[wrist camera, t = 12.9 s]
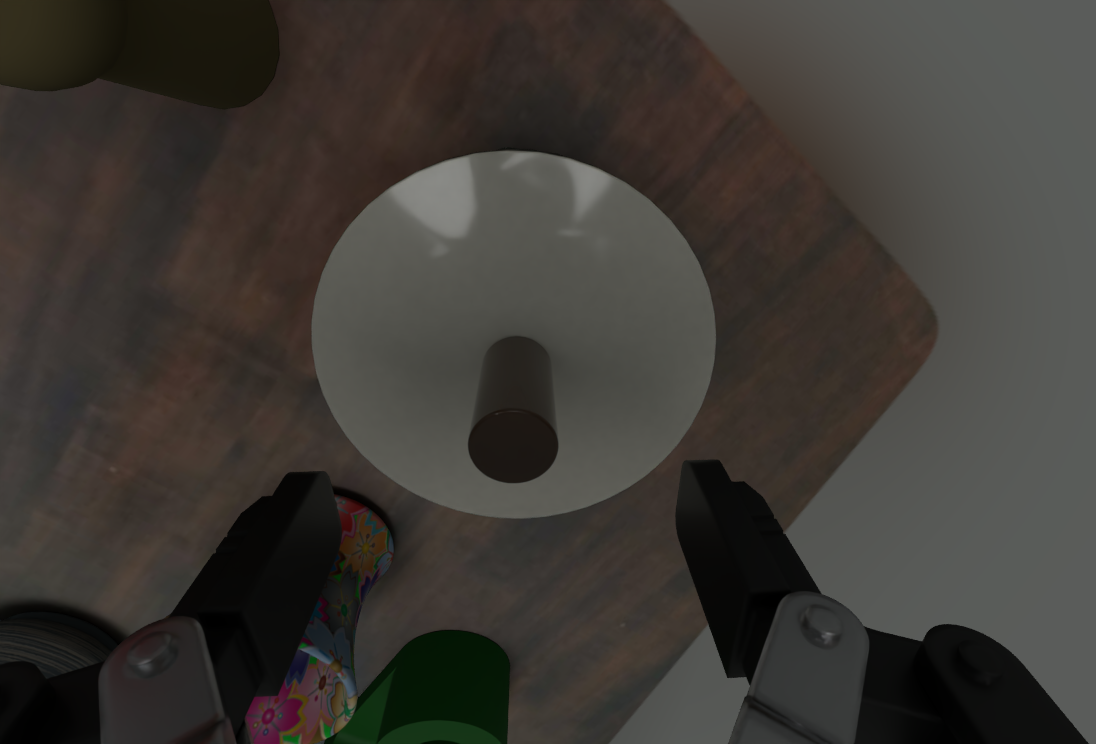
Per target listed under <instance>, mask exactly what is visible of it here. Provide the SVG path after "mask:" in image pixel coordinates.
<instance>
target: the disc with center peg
mask: <svg viewBox="0 0 1096 744" xmlns="http://www.w3.org/2000/svg"><path fill="white" fill-rule="evenodd" d="M311 325H312V351H313V357H314V363H315V369H316V373H317V377H318V380H319V383H320V386H321V389H322V392H323V395H324V397H325V399H326V402H327V404H328V406H329V408H330V410H331V412H332V414H333V416H334V418H335V419H336V421H337V422H338V424H339V426H340V427H341V429H342V430H343V432H344V433H345V435H346V436H347V437H348V439H349V440H350V441H351V442H352V443H353V445H354V446H355V447H356V448H357V449H358V451H359V452H360V453H361V454H362V455H363V456H364V457H365V458H366V459H367V460H368V461H370V462H371V463H372V464H373V465H374V466H375V467H376V468H377V469H378V470H379V471H381V472H382V473H383V474H385V475H386V476H388V477H389V478H390V479H392V480H393V481H394V482H396V483H397V484H399V485H401V486H402V487H404V488H406V489H407V490H409V491H411V492H413V493H414V494H416V495H418V496H421V497H423V498H425V499H427V500H429V501H432V502H434V503H436V504H439V505H442V506H445V507H448V508H451V509H454V510H457V511H462V512H466V513H471V514H475V515H480V516H488V517H497V518H535V517H546V516H552V515H557V514H563V513H568V512H571V511H575V510H578V509H581V508H585V507H588V506H591V505H593V504H596V503H598V502H601V501H603V500H605V499H608V498H610V497H612V496H614V495H616V494H617V493H619V492H621V491H623V490H625V489H627V488H628V487H630V486H631V485H633V484H634V483H636V482H637V481H639V480H640V479H642V478H643V477H644V476H646V475H647V474H648V473H649V472H651V471H652V470H653V469H654V468H655V467H656V466H657V465H659V464H660V463H661V462H662V461H663V460H664V459H665V458H666V457H667V456H668V455H669V453H670V452H671V451H672V450H673V449H674V448H675V447H676V446H677V445H678V443H679V442H680V441H681V439H682V438H683V436H684V435H685V433H686V432H687V431H688V429H689V428H690V426H691V425H692V423H693V421H694V419H695V417H696V415H697V413H698V411H699V409H700V408H701V405H702V403H703V400H704V397H705V395H706V392H707V389H708V387H709V383H710V379H711V374H712V370H713V365H714V360H715V347H716V327H715V313H714V309H713V304H712V299H711V295H710V290H709V287H708V284H707V282H706V279H705V276H704V274H703V271H702V268H701V266H700V264H699V262H698V260H697V258H696V256H695V255H694V253H693V251H692V249H691V247H690V246H689V244H688V242H687V241H686V239H685V238H684V237H683V235H682V234H681V233H680V231H679V230H678V229H677V228H676V226H675V225H674V224H673V222H672V221H671V220H670V219H669V218H668V217H667V216H666V215H665V214H664V213H663V212H662V211H661V210H660V209H659V208H658V207H657V206H656V205H655V204H654V203H653V202H652V201H651V200H650V199H648V198H647V197H645V196H644V195H643V194H641V193H640V192H639V191H637V190H636V189H634V188H633V187H632V186H630V185H629V184H627V183H626V182H625V181H623V180H621V179H619V178H618V177H616V176H614V175H612V174H610V173H608V172H606V171H604V170H602V169H600V168H598V167H596V166H593V165H591V164H588V163H585V162H582V161H579V160H576V159H574V158H571V157H567V156H562V155H557V154H552V153H547V152H542V151H533V150H515V149H504V150H492V151H481V152H474V153H470V154H466V155H462V156H457V157H453V158H449V159H446V160H443V161H441V162H438V163H436V164H433V165H431V166H428V167H426V168H423V169H421V170H419V171H417V172H415V173H413V174H412V175H410V176H408V177H406V178H405V179H403V180H401V181H399V182H398V183H396V184H394V185H393V186H391V187H390V188H388V189H387V190H386V191H385V192H383V193H382V194H381V195H380V196H378V197H377V198H376V199H374V200H373V201H372V202H371V203H369V204H368V205H367V206H366V207H365V208H364V210H363V211H362V212H361V213H360V214H359V215H358V216H357V217H356V218H355V219H354V220H353V221H352V223H351V224H350V225H349V226H348V227H347V229H346V230H345V232H344V233H343V235H342V236H341V238H340V239H339V241H338V242H337V244H336V245H335V247H334V248H333V250H332V252H331V254H330V257H329V259H328V261H327V263H326V265H325V267H324V269H323V272H322V274H321V278H320V281H319V285H318V288H317V292H316V295H315V299H314V307H313V315H312V323H311Z"/></svg>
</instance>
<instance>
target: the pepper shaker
mask: <svg viewBox="0 0 1096 744" xmlns="http://www.w3.org/2000/svg"><path fill="white" fill-rule="evenodd" d="M278 58H279V43H278V28H277V25H276V22H275V19H274V16H273V13H272V10H271V7H270V4H269V1H268V0H0V84H1V85H5V86H11V87H17V88H22V89H28V90H34V91H56V90H62V89H68V88H74V87H79V86H82V85H85V84H88V83H90V82H93V81H94V80H96V79H97V78H100V79H103V80H107V81H111V82H115V83H119V84H122V85H126V86H130V87H134V88H138V89H141V90H145V91H149V92H153V93H157V94H160V95H164V96H168V97H172V98H176V99H179V100H183V101H187V102H191V103H195V104H198V105H203V106H208V107H214V108H219V109H228V108H234V107H240V106H245V105H246V104H248V103H250V102H251V101H253V100H254V99H256V98H258V97H259V96H261V95H262V94H263V92H264V91H265V89H266V88H267V86H268V85H269V83H270V82H271V81H272V79H273V78H274V74H275V70H276V66H277V62H278Z"/></svg>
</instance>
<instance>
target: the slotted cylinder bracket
mask: <svg viewBox="0 0 1096 744" xmlns="http://www.w3.org/2000/svg"><path fill="white" fill-rule="evenodd" d="M509 677H510V663H509V660H508V657H507V655H506V654H505V652H504V651H503V650H502V649H501V648H500V647H499V646H498V645H497V644H496V643H494V642H493V641H491V640H489V639H487V638H485V637H483V636H480V635H477V634H474V633H470V632H464V631H438V632H432V633H428V634H425V635H422V636H420V637H417V638H416V639H414V640H412V641H411V642H409V643H408V644H407V645H405V646H404V647H403V648H402V650H401V651H400V652H399V653H398V654H397V655H396V656H395V657H394V659H393V660H392V661H391V662H390V663H389V664H388V665H387V667H386V668H385V669H384V670H383V671H382V672H381V673H380V674H379V676H378V677H377V678H376V679H375V680H374V681H373V682H372V683H371V685H370V686H369V687H368V688H367V689H366V690H365V691H364V693H363V694H362V695H361V696H360V697H359V698H358V699H357V705H356V708H355V711H354V714H353V716H352V718H351V719H350V720H349V722H348V723H347V724H346V725H345V726H344V727H343V728H342V729H341V730H340V731H339V732H337V733H336V734H334V735H333V736H331V737H329V738H327V739H326V740H325V743H324V744H507V734H508V705H509Z"/></svg>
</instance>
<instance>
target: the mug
mask: <svg viewBox="0 0 1096 744" xmlns="http://www.w3.org/2000/svg"><path fill="white" fill-rule="evenodd" d="M334 497H335V500H336V504H337V508H338V512H339V516H340V520H341V525H342V539H341V545H340V549H339V552H338V554H337V557H336V559H335V561H334V564H333V566H332V568H331V571H330V573H329V576H328V578H327V580H326V583H325V585H324V587H323V590H322V592H321V595H320V597H319V599H318V602H317V604H316V607H315V609H314V611H313V614H312V616H311V618H310V621H309V623H308V626H307V628H306V630H305V633H304V635H303V637H302V640H301V642H300V645H299V647H298V649H297V652H296V654H295V656H294V659H293V661H292V664H291V666H290V668H289V671H288V673H287V675H286V678H285V680H284V683H283V685H282V687H281V690H280V692H279V695H278V696H265V697H254V699H253V701H252V703H251V705H250V708H249V710H248V712H247V714H246V718H247V721H248V723H249V726H250V730H251V734H252V737H253V741H254V744H314V743H317V742H320V741H322V740H325V739H327V738H329V737H331V736H333V735H334V734H336V733H337V732H339V731H340V730H341V729H342V728H343V727H344V726H345V725H346V724H347V723H348V722H349V720H350V719H351V718H352V716H353V714H354V711H355V708H356V705H357V687H356V680H355V671H354V642H355V633H356V627H357V622H358V618H359V614H360V611H361V608H362V606H363V603H364V601H365V598H366V596H367V595H368V593H369V591H370V589H371V588H372V586H373V585H374V584H375V583H376V582H377V581H378V580H379V579H380V578H381V577H382V576H383V575H384V574H385V573H386V571H387V570H388V568H389V567H390V565H391V562H392V559H393V554H394V545H393V539H392V536H391V534H390V531H389V530H388V528H387V526H386V525H385V523H384V522H383V521H382V520H381V518H380V517H379V516H378V515H377V514H376V513H374V512H373V511H372V510H371V509H369V508H368V507H366V506H365V505H363V504H361V503H359V502H357V501H355V500H352V499H350V498H347V497H344V496H340V495H336V494H334ZM170 615H171V614H170ZM170 615H168V616H167V617H165V618H168V617H169V616H170Z"/></svg>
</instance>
